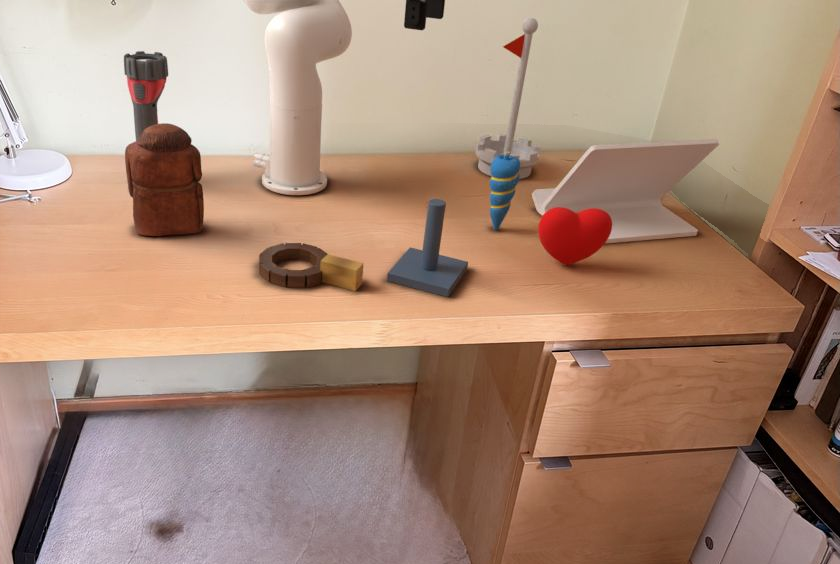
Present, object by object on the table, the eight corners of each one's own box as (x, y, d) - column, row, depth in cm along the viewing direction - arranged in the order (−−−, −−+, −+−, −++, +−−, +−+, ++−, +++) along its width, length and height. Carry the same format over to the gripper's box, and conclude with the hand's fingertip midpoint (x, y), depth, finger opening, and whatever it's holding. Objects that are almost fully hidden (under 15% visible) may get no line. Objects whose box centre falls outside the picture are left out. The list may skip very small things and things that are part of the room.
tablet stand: (698, 235, 141) (729, 144, 131) (576, 246, 134) (600, 151, 125) (640, 195, 155) (665, 110, 146) (528, 203, 149) (545, 115, 139)
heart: (595, 258, 131) (610, 203, 125) (605, 273, 127) (621, 217, 121) (527, 256, 130) (538, 200, 125) (535, 272, 126) (547, 215, 120)
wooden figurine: (201, 219, 136) (196, 117, 126) (206, 235, 130) (201, 130, 120) (131, 223, 133) (120, 119, 123) (133, 240, 128) (122, 133, 118)
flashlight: (166, 168, 154) (157, 48, 141) (181, 182, 148) (173, 58, 136) (128, 174, 150) (115, 51, 138) (141, 188, 145) (129, 62, 132)
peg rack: (386, 281, 121) (394, 206, 114) (408, 255, 128) (417, 183, 121) (448, 297, 117) (459, 221, 111) (467, 269, 125) (478, 197, 118)
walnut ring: (246, 276, 120) (245, 255, 118) (280, 248, 128) (280, 228, 126) (343, 303, 114) (345, 282, 112) (372, 272, 123) (374, 252, 121)
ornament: (508, 238, 136) (524, 155, 127) (479, 234, 136) (493, 151, 128) (509, 225, 140) (524, 144, 132) (480, 221, 141) (494, 141, 132)
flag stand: (514, 155, 170) (541, 9, 154) (547, 178, 160) (580, 24, 144) (462, 160, 166) (484, 11, 149) (492, 183, 156) (519, 26, 139)
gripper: (428, -108, 119) (417, 11, 129) (391, -102, 106) (382, 30, 115) (476, -105, 117) (461, 16, 126) (444, -98, 104) (431, 37, 113)
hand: (424, 23), depth 121 cm, fingers open, 9 cm apart
